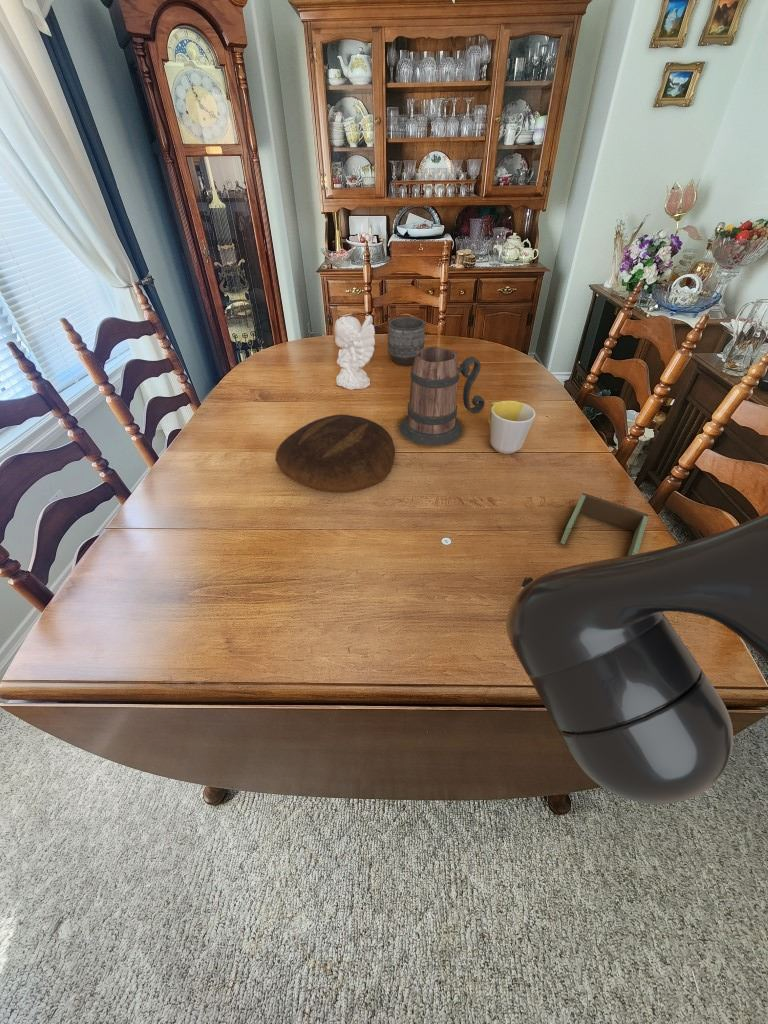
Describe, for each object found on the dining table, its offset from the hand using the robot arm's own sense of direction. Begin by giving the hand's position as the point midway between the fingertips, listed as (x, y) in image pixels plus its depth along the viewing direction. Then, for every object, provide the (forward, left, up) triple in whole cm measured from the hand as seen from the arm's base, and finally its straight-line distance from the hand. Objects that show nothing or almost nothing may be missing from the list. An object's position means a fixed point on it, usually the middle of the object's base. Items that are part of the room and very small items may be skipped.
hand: (583, 611), depth 50 cm
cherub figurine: (+91, -52, -18) cm, 106 cm away
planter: (+89, -74, -18) cm, 117 cm away
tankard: (+54, -48, -18) cm, 74 cm away
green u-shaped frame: (+6, -34, -18) cm, 39 cm away
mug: (+37, -51, -18) cm, 65 cm away
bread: (+63, -18, -18) cm, 68 cm away
